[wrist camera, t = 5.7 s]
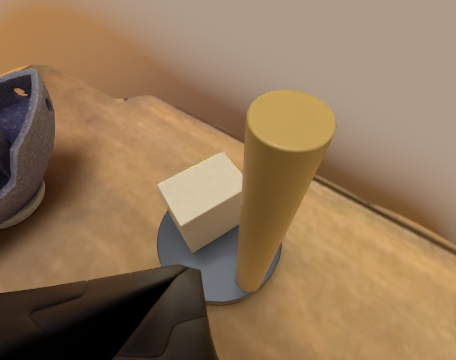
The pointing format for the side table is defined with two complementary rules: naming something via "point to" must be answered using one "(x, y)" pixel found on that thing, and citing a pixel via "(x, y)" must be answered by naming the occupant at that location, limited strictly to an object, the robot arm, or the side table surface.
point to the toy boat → (23, 144)
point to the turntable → (245, 197)
